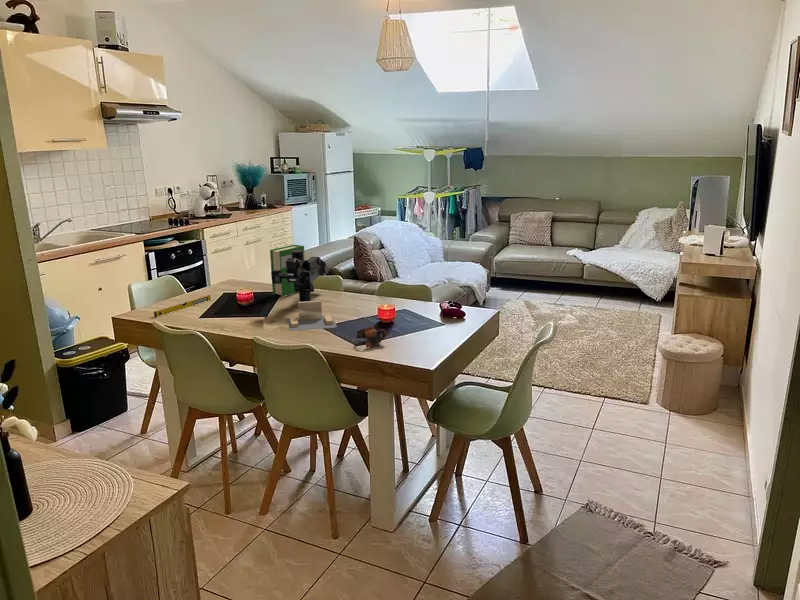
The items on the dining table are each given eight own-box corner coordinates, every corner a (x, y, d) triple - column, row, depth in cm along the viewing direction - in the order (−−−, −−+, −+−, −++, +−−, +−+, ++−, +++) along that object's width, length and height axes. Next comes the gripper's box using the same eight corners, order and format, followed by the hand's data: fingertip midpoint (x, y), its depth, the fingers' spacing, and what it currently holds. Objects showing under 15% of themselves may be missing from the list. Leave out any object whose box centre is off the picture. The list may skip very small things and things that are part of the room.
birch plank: (299, 319, 270) (298, 301, 268) (321, 317, 272) (320, 300, 270) (299, 320, 268) (298, 303, 266) (322, 318, 271) (321, 301, 268)
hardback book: (283, 296, 313) (280, 251, 307) (272, 295, 317) (269, 249, 311) (306, 289, 327) (303, 245, 321) (296, 287, 331) (293, 244, 325)
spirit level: (156, 317, 280) (155, 311, 279) (154, 317, 280) (153, 311, 280) (210, 300, 308) (210, 295, 307) (208, 300, 309) (208, 294, 308)
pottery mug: (359, 350, 235) (353, 330, 236) (361, 353, 244) (355, 334, 246) (389, 341, 236) (383, 321, 237) (389, 344, 245) (383, 325, 246)
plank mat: (287, 320, 272) (287, 314, 272) (332, 317, 277) (331, 311, 276) (289, 333, 254) (289, 327, 254) (337, 329, 259) (336, 323, 258)
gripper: (276, 256, 286) (263, 264, 272) (314, 257, 283) (303, 265, 268) (278, 278, 290) (265, 288, 275) (316, 280, 286) (305, 289, 272)
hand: (284, 282), depth 272 cm, fingers open, 9 cm apart
